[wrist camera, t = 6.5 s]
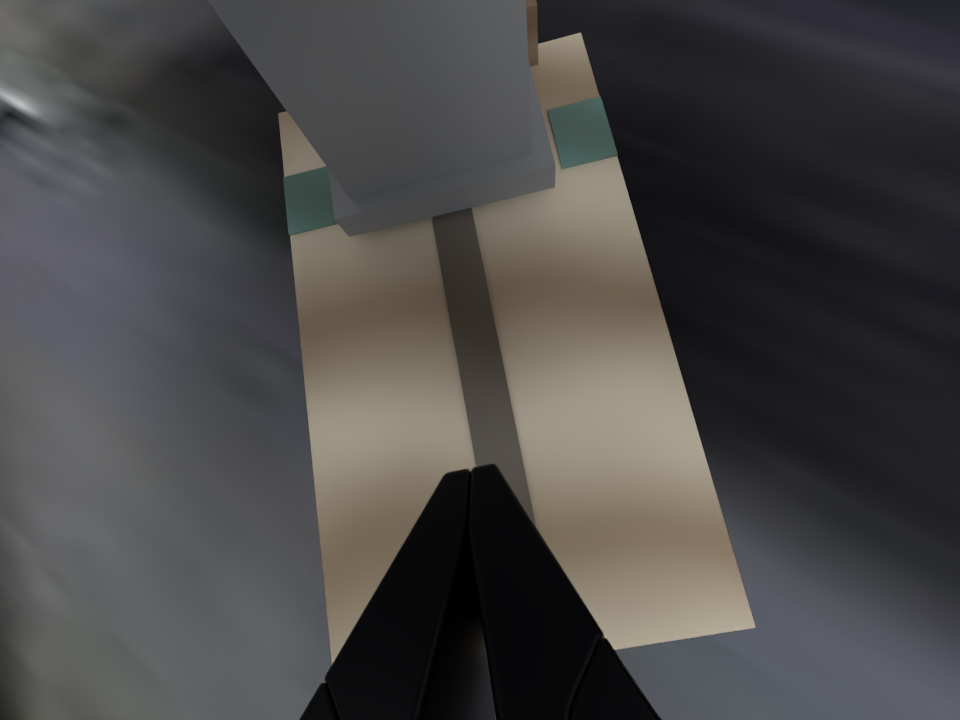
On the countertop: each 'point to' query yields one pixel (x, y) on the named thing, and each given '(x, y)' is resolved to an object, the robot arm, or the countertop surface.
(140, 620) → the countertop surface
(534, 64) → the fader console
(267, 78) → the handle
